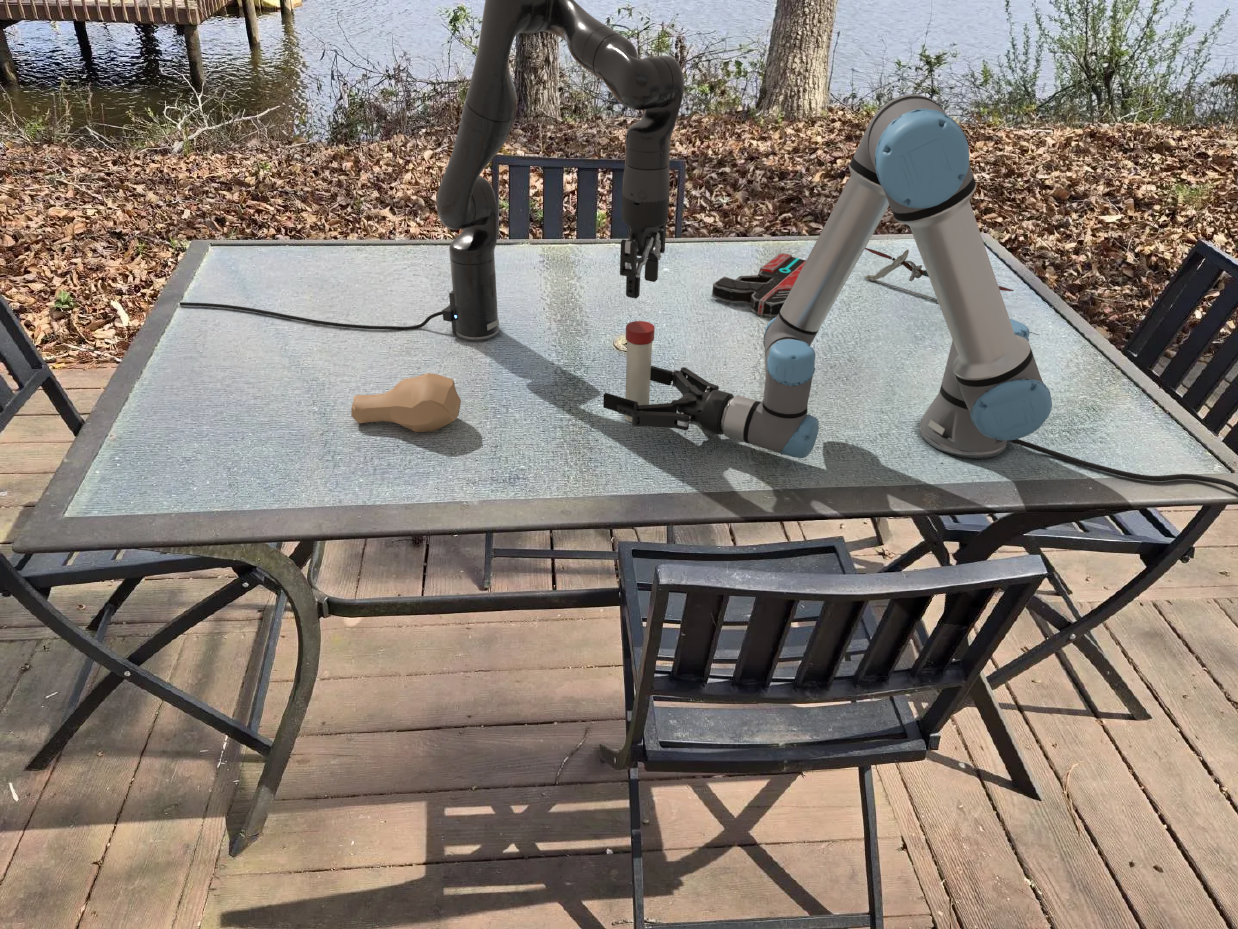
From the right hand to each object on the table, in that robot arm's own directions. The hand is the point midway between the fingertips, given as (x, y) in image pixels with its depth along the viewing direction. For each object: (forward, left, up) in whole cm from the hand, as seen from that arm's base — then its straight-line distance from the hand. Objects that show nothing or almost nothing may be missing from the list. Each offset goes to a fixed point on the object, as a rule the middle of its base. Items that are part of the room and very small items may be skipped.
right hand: (622, 384), depth 162 cm
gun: (-32, -64, -6) cm, 71 cm away
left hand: (-3, +1, +19) cm, 20 cm away
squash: (+39, +8, -6) cm, 40 cm away
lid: (-3, +1, +12) cm, 12 cm away
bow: (-71, -65, -6) cm, 96 cm away
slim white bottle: (-3, +1, -6) cm, 7 cm away
